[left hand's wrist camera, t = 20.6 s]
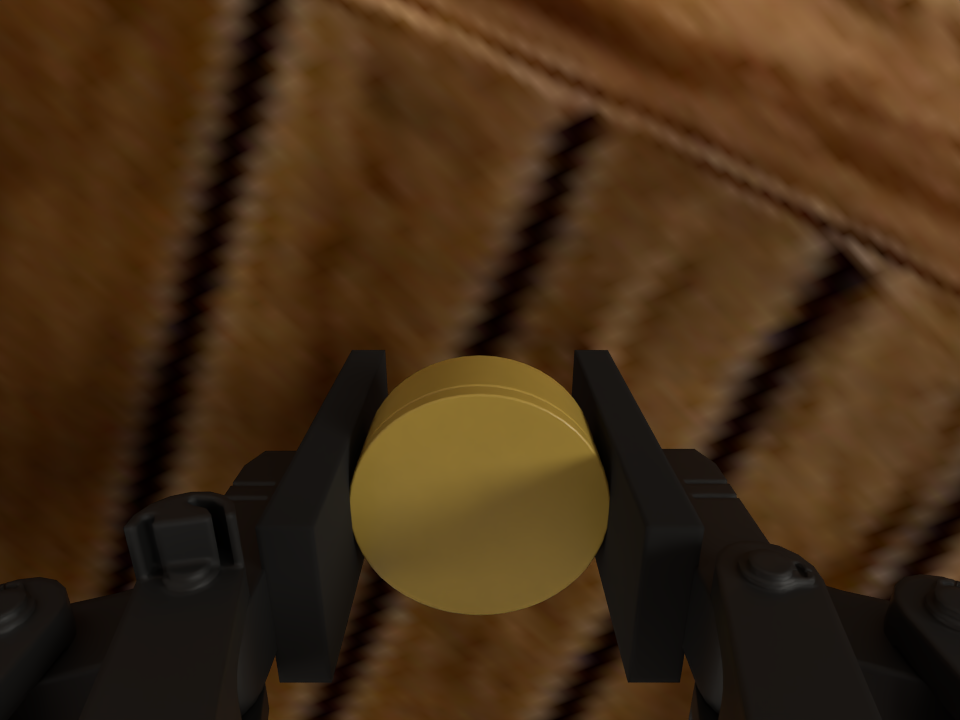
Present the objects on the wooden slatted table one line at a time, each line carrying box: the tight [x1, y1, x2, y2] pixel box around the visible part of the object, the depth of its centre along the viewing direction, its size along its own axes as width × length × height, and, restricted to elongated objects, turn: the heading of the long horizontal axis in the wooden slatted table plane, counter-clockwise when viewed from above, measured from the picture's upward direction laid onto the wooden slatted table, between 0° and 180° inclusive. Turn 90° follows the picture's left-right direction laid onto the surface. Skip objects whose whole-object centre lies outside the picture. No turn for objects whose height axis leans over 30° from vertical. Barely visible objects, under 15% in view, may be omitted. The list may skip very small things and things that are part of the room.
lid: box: [350, 356, 610, 615], centre depth 11 cm, size 4×4×2 cm
